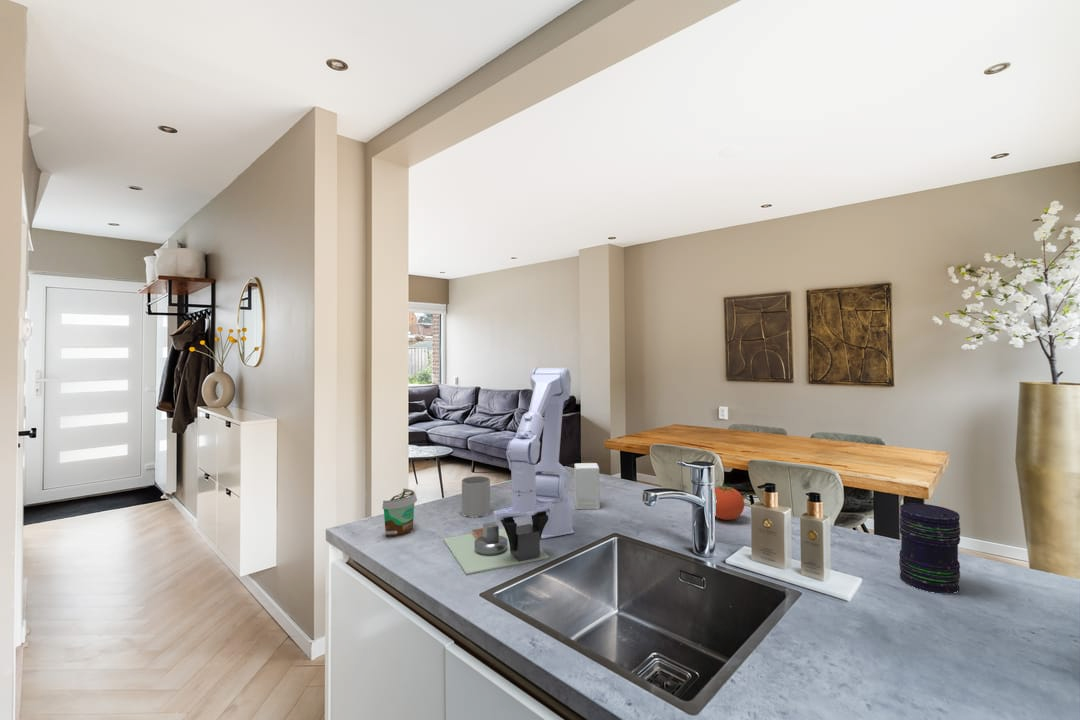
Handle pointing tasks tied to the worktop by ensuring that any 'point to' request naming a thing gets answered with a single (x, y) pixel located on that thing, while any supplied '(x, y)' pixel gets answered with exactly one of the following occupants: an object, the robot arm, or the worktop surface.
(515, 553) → the dark grey cube
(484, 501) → the cup
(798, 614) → the worktop surface
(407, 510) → the food container
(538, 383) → the robot arm
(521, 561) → the tool mat
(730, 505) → the tomato
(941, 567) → the storage jar
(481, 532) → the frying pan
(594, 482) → the supplement box
